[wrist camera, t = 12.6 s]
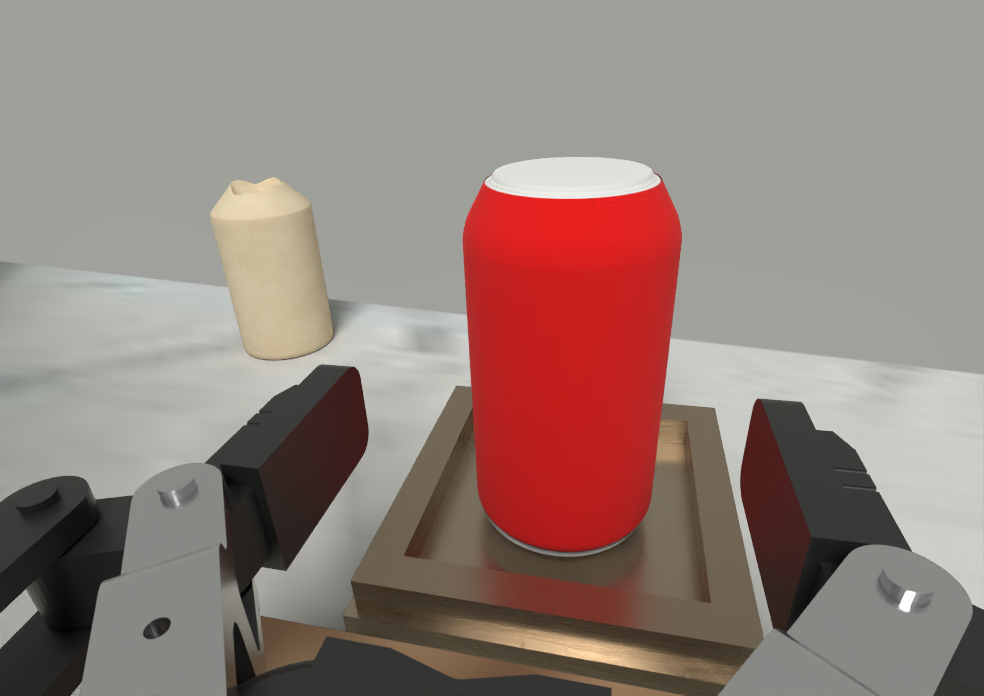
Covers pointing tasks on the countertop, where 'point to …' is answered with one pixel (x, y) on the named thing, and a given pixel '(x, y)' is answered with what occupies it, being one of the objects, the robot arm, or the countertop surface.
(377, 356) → the countertop surface
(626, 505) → the beverage can
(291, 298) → the candle
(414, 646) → the sill
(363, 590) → the tray
